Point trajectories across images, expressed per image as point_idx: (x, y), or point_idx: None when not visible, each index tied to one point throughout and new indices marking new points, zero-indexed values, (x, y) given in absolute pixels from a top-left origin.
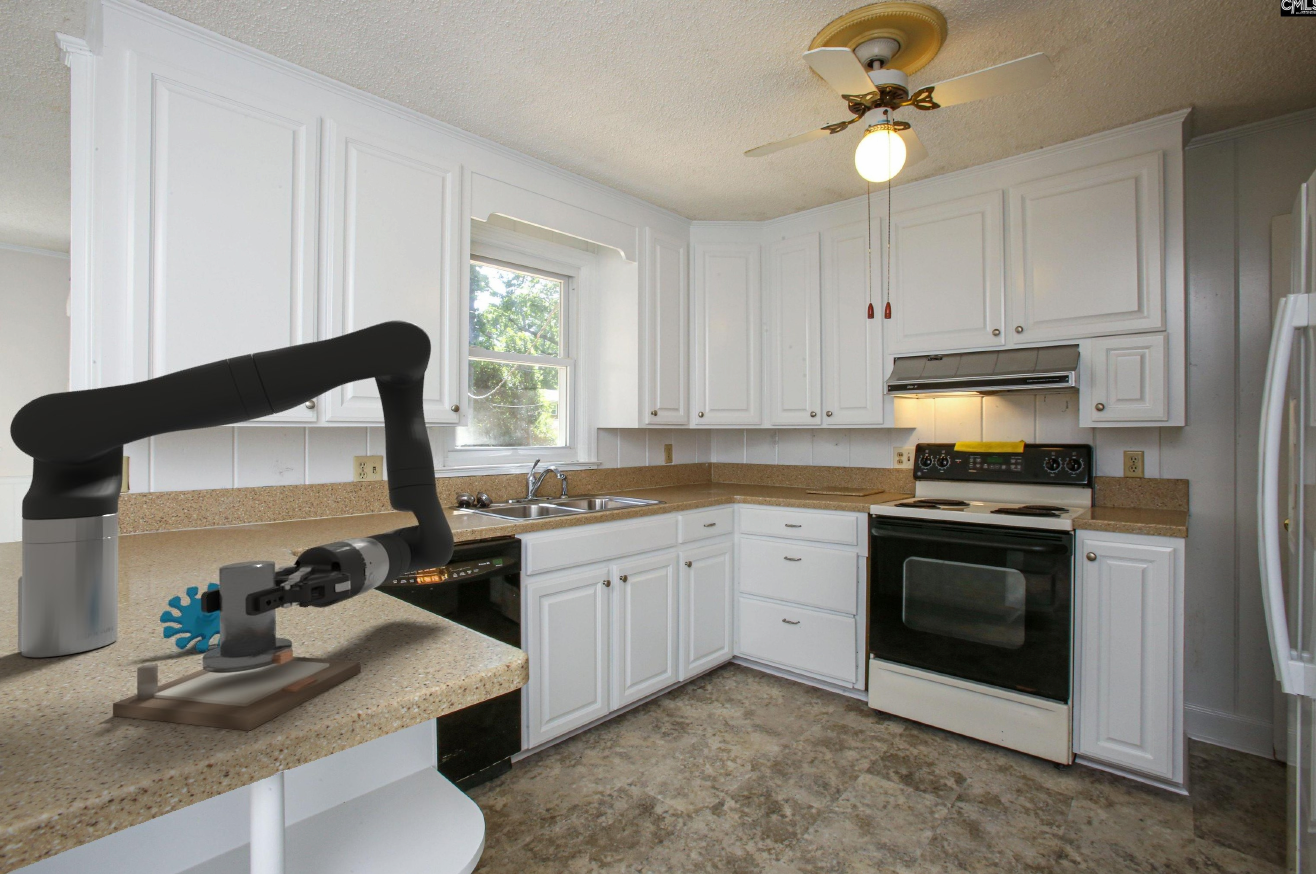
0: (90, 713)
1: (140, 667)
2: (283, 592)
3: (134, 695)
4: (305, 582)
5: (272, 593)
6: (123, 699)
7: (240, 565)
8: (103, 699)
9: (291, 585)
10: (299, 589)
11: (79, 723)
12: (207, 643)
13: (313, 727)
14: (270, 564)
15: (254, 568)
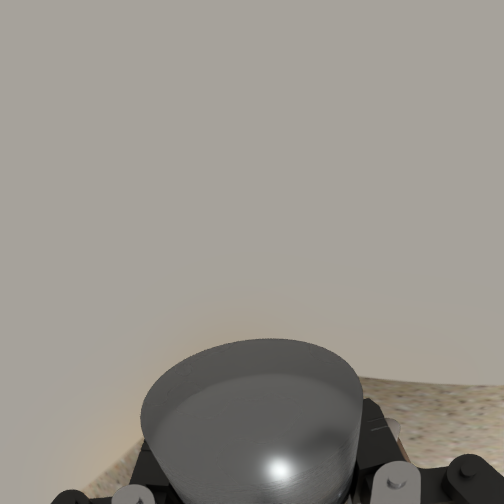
0: (427, 429)
1: (392, 422)
2: (132, 482)
3: (403, 449)
4: (65, 497)
5: (150, 457)
6: (398, 438)
7: (279, 385)
8: (471, 443)
9: (114, 499)
10: (91, 500)
11: (401, 418)
12: None
13: (96, 478)
14: (149, 419)
15: (170, 371)
